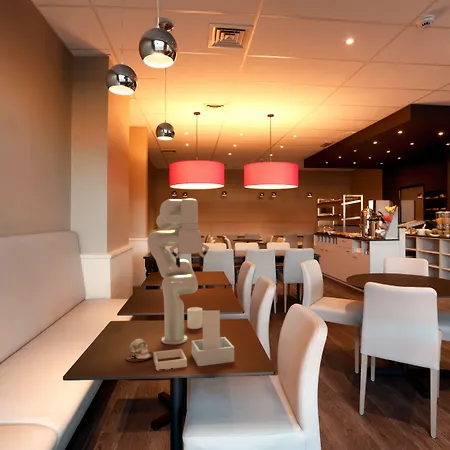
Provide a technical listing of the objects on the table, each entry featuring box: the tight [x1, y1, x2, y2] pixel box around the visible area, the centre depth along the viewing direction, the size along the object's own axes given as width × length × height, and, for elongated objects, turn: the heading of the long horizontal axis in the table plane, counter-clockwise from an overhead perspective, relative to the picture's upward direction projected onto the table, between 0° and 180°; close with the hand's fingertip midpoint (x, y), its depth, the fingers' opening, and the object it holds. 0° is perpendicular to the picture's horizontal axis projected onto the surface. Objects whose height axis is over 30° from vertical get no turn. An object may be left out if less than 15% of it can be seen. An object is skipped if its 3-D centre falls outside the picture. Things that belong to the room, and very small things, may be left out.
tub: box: [191, 336, 235, 367], centre depth 149 cm, size 13×15×6 cm
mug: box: [186, 306, 204, 330], centre depth 193 cm, size 8×12×10 cm, turn 85°
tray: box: [152, 348, 188, 371], centre depth 144 cm, size 12×12×3 cm
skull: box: [128, 338, 154, 362], centre depth 150 cm, size 12×10×10 cm
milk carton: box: [202, 310, 221, 350], centre depth 149 cm, size 7×7×19 cm
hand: (189, 266), depth 153 cm, fingers open, 9 cm apart
